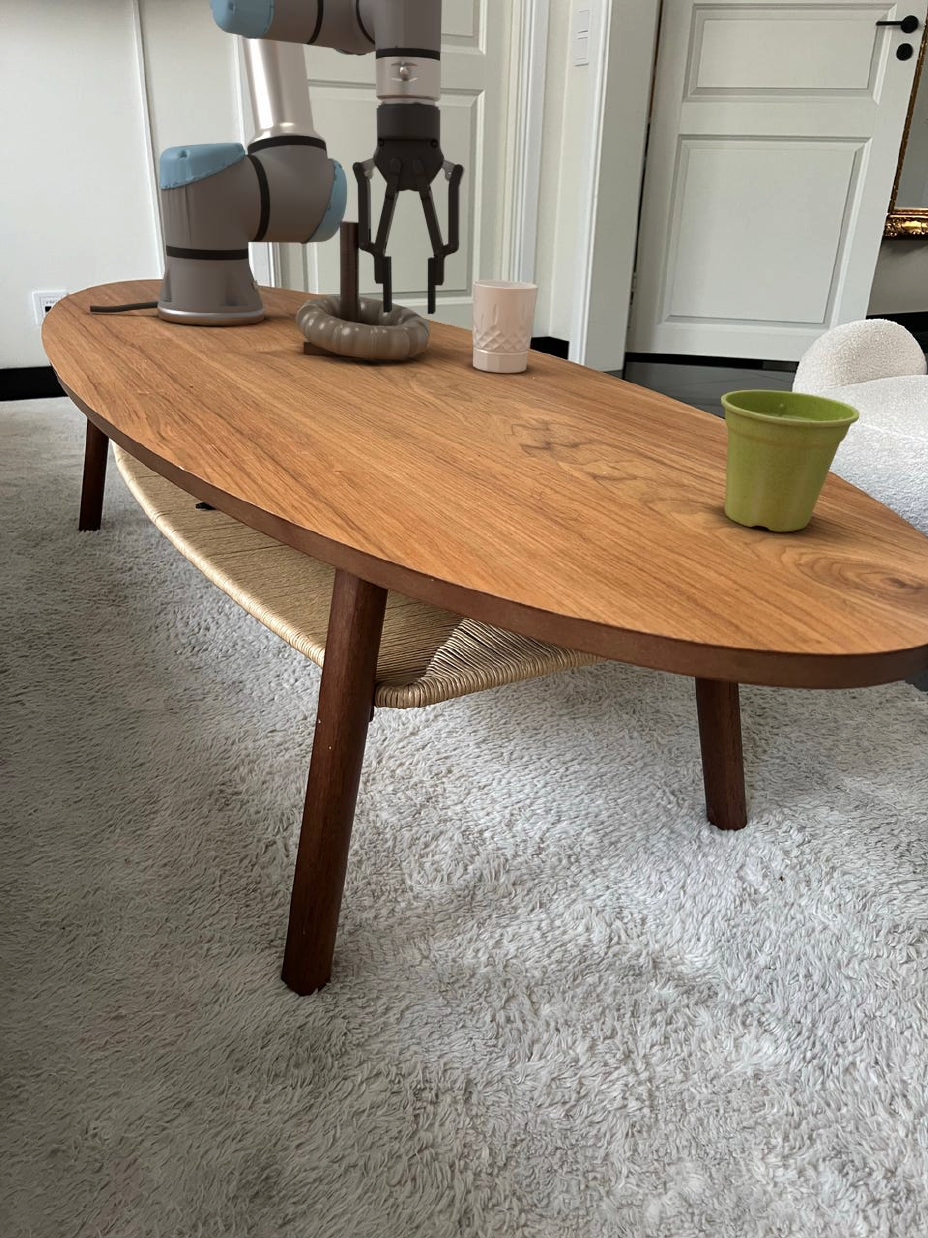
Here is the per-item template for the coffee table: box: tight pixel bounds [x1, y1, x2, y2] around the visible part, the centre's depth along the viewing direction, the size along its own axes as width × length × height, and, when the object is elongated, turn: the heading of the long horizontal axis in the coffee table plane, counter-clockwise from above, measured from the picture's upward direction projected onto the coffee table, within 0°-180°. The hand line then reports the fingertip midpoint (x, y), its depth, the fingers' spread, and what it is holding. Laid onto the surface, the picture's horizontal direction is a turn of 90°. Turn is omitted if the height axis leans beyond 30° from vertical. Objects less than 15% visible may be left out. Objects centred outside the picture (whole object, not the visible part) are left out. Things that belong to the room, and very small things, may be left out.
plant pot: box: [720, 389, 860, 533], centre depth 66 cm, size 9×9×9 cm
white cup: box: [471, 279, 539, 374], centre depth 111 cm, size 8×8×10 cm
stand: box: [302, 220, 360, 359], centre depth 115 cm, size 10×10×16 cm
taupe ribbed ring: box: [294, 294, 432, 361], centre depth 116 cm, size 17×17×4 cm
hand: (409, 311), depth 116 cm, fingers open, 5 cm apart
